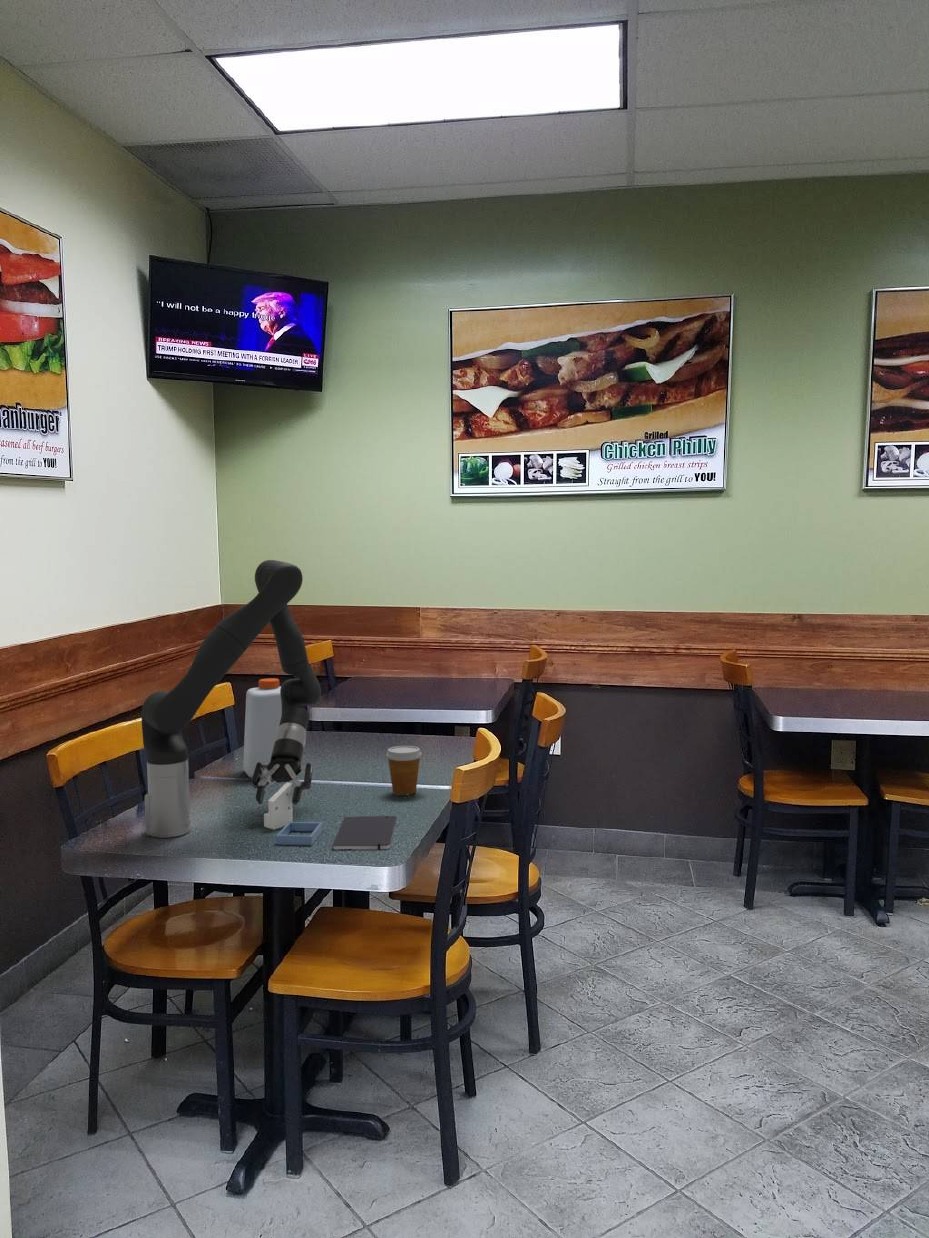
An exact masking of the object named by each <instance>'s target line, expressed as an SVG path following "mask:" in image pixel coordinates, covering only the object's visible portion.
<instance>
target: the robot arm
mask: <svg viewBox="0 0 929 1238" xmlns="http://www.w3.org/2000/svg"><path fill="white" fill-rule="evenodd" d="M303 581H304V580H303V573H302V570H301V568H299V567H298V566H297V565H295V564H293V563H291V562H286V561H280V560H275V559H267V560H264V561H262V562H261V563H260V564H258V566H257V567H256V569H255V571H254V583H255V586H256V589H257V592H258V593H257V595H256V596H255V597H253V599H251V600H250V601H249V602H248V603H246V604H244V605H243V606H242V607H240V608H238V609H237V610H235V611H234V612H232V613H230V614H229V615H227V616H226V617H223V619H221V620H220V621H219V622H218V623H217V624H216V625H215V626H214V627H213V628H212V629H211V631H210V632H209V633H208V634H207V635H206V637H204V639H203V641H202V642H201V643H200V645H199V647H198V649H197V651H196V653H195V656H194V658H193V661H192V663H191V666H190V667H189V669H188V670H187V672H186V674H185V675H184V676H183V677H182V678H181V679H180V681H179V682H178V683H176V685H175V686H174V687H172V689H171V690H170V691H167V690H159V691H154V692H153V693H151V694H150V695H148V696H147V697H146V698H145V700H144V701H143V705H142V707H141V716H140V717H141V733H142V742H143V743H142V744H143V749H144V752H145V754H146V768H147V769H146V773H147V775H146V776H147V793H146V794H145V795H144V814H145V816H144V817H145V821H144V822H145V836H151V837H153V838H159V839H160V838H161V839H162V838H163V839H164V838H165V839H166V838H175V837H180V836H183V835H186V834H188V833H190V832H191V829H192V828H191V821H192V820H191V806H190V805H191V803H190V801H191V800H190V799H191V798H190V777H189V776H190V774H189V773H190V772H189V749H188V747H187V744H186V743H185V740H184V738H183V734H182V733H183V732H182V730H184V729H185V728H186V727H187V726H188V725H189V724H190V722H191V721H192V719H193V718H194V717H195V715H196V713H197V711H198V710H199V709H200V707H201V706H202V705H203V703H204V702H205V700H206V698H207V697H208V696H209V694H210V692H211V691H212V690H213V689H214V688H216V686H217V685H218V684H219V682H220V681H221V680H222V679H223V678H224V676H226V674H227V673H228V672H229V671H230V669H231V668H232V667H233V666H234V665H235V664H236V663H237V662H238V660H239V659H240V658H241V657H242V655H243V654H244V653H245V652H246V651H247V650H248V648H249V647H250V646H251V644H252V643H253V642H254V640H255V639H256V638H257V637H258V636H259V635H260V634H261V632H262V631H263V630H264V629H265V628H266V626H267V625H268V624H269V623H270V625H271V629H272V632H273V634H274V635H273V636H274V640H275V643H276V647H277V652H278V657H279V662H280V666H281V670H282V671H283V673H284V674H287V675H291V676H296V677H297V678H290V679H286V680H285V681H283V683H282V684H281V689H280V695H281V704H282V715H281V720H280V724H279V729H278V731H277V734H276V738H275V742H274V747H273V751H272V755H271V761H270V763H269V764H268V765H262V764H261V763H260V762H258V763H257V764H256V768H255V771H254V774H253V777H252V778H251V780H250V781H251V782H250V783H251V785H252V787H253V788H254V789H255V790H256V794H255V799H256V802H257V803H258V805H262V804H263V802H264V798H265V794H266V789H268V788H269V786H272V785H273V784H274V783H275V782H276V783H278V784H279V783H284V784H285V783H286V782H289V783H292V784H293V785H294V786H295V787H294V790H293V792H292V805H295V806H296V805H297V806H298V803H300V801H301V797H302V792H303V791H304V790H310V789H311V787H312V781H313V780H312V779H313V770H314V769H313V767H312V765H311V763H310V762H307V763H306V764H304V765H302V760H303V755H304V751H305V750H304V749H305V746H306V739H307V731H308V725H309V721H310V720H309V719H310V714H309V712H308V710H307V709H305V708H304V707H301V706H310V705H315V704H316V705H317V703H319V701H320V700H321V698H322V688H321V687H322V686H321V684H320V682H319V680H318V678H317V676H316V675H315V671H314V670H313V669H312V666H311V665H310V661H309V659H308V654H307V648H306V642H305V640H304V637H303V635H302V632H301V630H300V629H299V627H298V624H297V623H296V621H295V619H294V617H293V616H292V615H293V614H292V613H291V611H290V609H289V606H288V604H289V603H290V602H291V601H292V599H294V598H295V597H296V595H298V593H299V591H300V590H301V587H302V585H303ZM266 770H268V771H269V772H268V773H267V774H266V775H265V776H264V778H263V779H261V776H262V774H264V772H265V771H266ZM301 772H302V773H303V774H304V778H303V781H302V782H301V781H300V779H299V778H298V777H297V776H298V775H299V774H300V773H301ZM270 777H272V778H270Z"/></svg>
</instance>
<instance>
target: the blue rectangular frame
mask: <svg viewBox="0 0 929 1238" xmlns="http://www.w3.org/2000/svg"><path fill="white" fill-rule="evenodd" d="M294 830H295V831H294ZM322 831H323V832H324V822H321V821H320V822H316V821H315V822H313V821H310V822H309V821H306V822H305V821H293V822H288V823H287V824H286V826H284V827H282V829H281V830H280V831H279V832H278V833H277V834H276V836H275V842H276V843H275V844H276V845H279V846H280V845H282V846H283V845H284V846H285V845H287V846H288V845H290V846H292V845H293V846H313V845H314V843H315V842H316V841H317V840H318V838H319V837H320V835H322V833H323V832H322ZM289 832H311V833H310V834H309V835H299V834H298V835H297V834H296V835H295V834H294V835H293V834H290V833H289ZM288 833H289V834H288ZM315 840H316V841H315Z"/></svg>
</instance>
